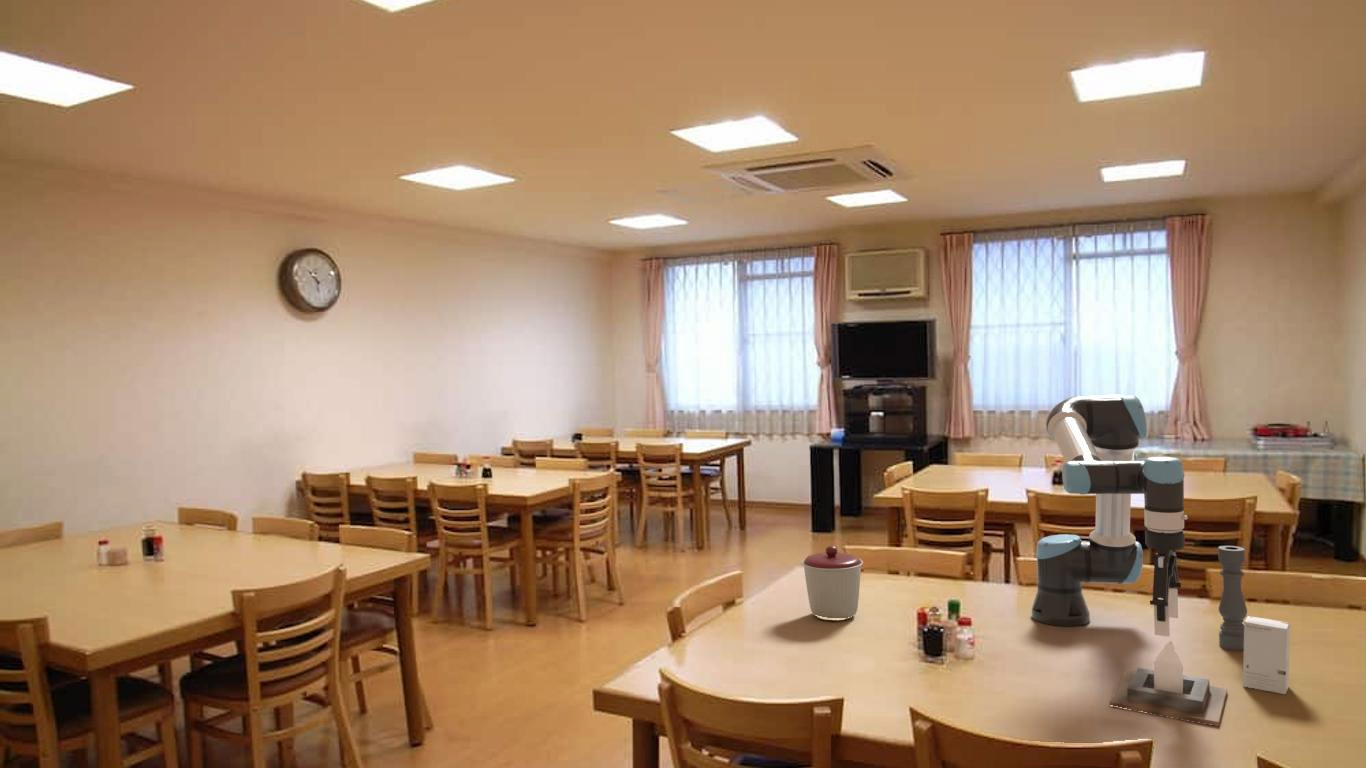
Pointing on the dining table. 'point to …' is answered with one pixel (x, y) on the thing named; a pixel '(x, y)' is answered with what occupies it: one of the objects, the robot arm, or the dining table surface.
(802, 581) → the dining table surface
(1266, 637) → the skincare box
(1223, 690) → the socket
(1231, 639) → the candle holder
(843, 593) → the canister
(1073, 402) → the robot arm
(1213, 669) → the dining table surface
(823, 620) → the dining table surface
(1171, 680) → the white bottle-shaped piece
